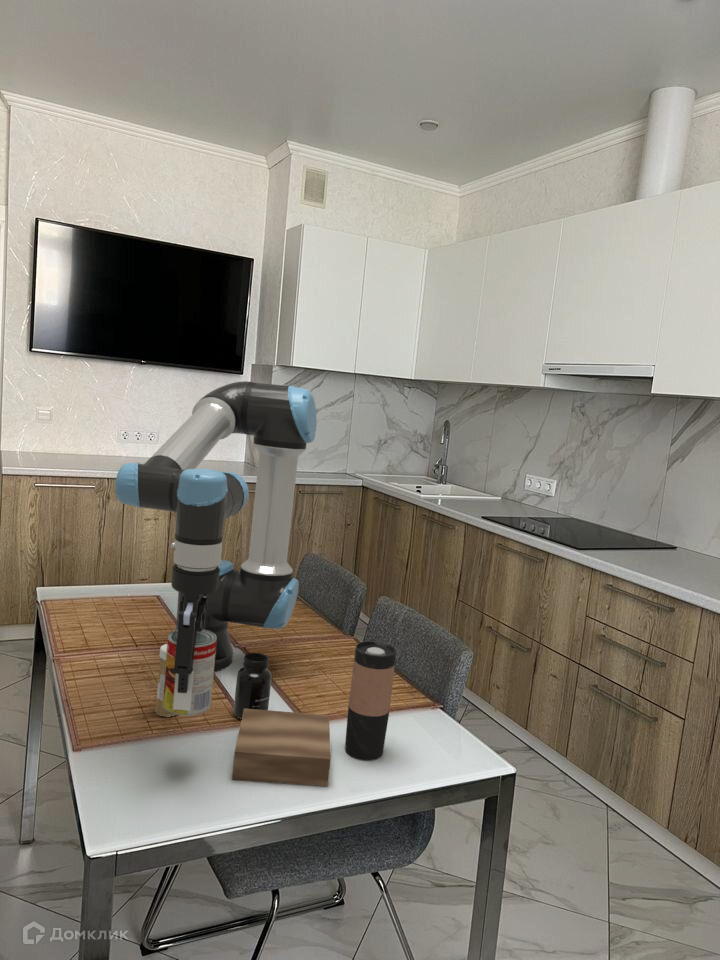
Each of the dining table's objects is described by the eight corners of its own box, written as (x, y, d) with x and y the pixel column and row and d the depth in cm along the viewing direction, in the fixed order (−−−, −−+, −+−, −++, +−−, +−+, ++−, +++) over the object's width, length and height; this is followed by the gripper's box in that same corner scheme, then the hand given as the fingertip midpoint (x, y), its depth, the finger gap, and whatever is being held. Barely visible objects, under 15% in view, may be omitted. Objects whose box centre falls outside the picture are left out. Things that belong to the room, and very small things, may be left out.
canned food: (186, 689, 129) (191, 624, 127) (221, 704, 125) (226, 636, 123) (152, 705, 122) (157, 636, 121) (188, 721, 119) (193, 649, 117)
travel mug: (354, 764, 133) (367, 658, 130) (336, 743, 140) (348, 642, 137) (391, 758, 137) (404, 654, 134) (372, 738, 143) (384, 639, 141)
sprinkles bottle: (161, 705, 147) (166, 641, 145) (183, 710, 146) (188, 645, 144) (150, 715, 142) (155, 648, 141) (172, 720, 142) (178, 653, 140)
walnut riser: (241, 733, 139) (243, 708, 139) (326, 739, 141) (329, 715, 140) (232, 779, 124) (234, 751, 123) (327, 786, 125) (330, 758, 124)
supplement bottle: (261, 725, 144) (266, 666, 142) (227, 718, 145) (233, 660, 143) (272, 710, 150) (278, 654, 149) (240, 704, 151) (245, 648, 150)
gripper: (184, 546, 130) (175, 669, 134) (159, 581, 110) (149, 725, 113) (227, 550, 131) (217, 672, 134) (211, 586, 110) (199, 729, 114)
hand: (186, 696), depth 124 cm, fingers closed on canned food, 8 cm apart
